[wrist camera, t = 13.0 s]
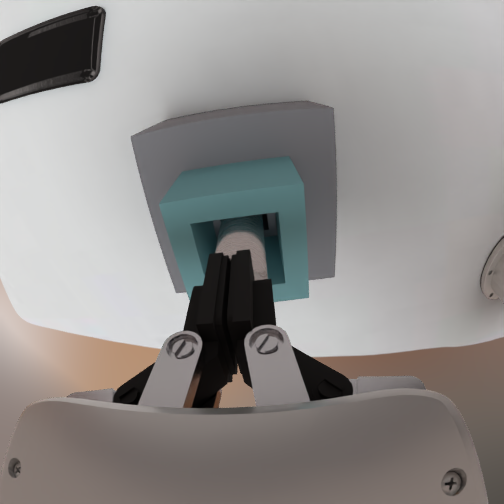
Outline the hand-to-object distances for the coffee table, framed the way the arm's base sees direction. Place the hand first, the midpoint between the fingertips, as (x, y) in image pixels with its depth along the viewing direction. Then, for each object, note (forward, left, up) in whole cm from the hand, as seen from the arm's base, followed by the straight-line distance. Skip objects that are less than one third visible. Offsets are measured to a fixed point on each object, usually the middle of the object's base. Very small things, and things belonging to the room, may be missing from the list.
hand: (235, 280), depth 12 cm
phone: (+18, -17, -16) cm, 29 cm away
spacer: (0, 0, -7) cm, 7 cm away
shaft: (0, 0, -15) cm, 15 cm away
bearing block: (0, 0, -15) cm, 15 cm away
